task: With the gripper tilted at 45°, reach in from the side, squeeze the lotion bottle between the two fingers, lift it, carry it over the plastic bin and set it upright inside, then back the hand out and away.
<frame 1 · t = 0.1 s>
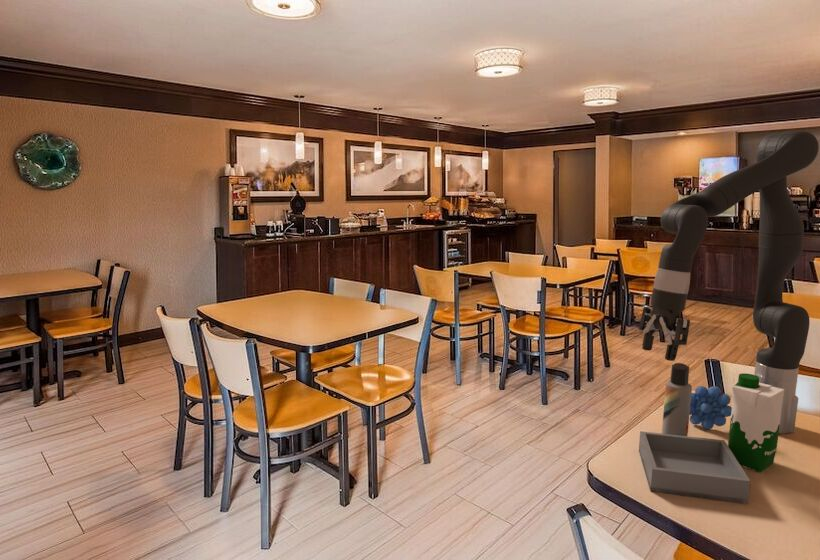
hand: (657, 354, 131), 22 cm above the table, tool pointing down, fingers open, 8 cm apart
bin: (688, 475, 120), on the table
milk carton: (749, 462, 125), on the table
grapes: (707, 428, 143), on the table
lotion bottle: (673, 442, 135), on the table
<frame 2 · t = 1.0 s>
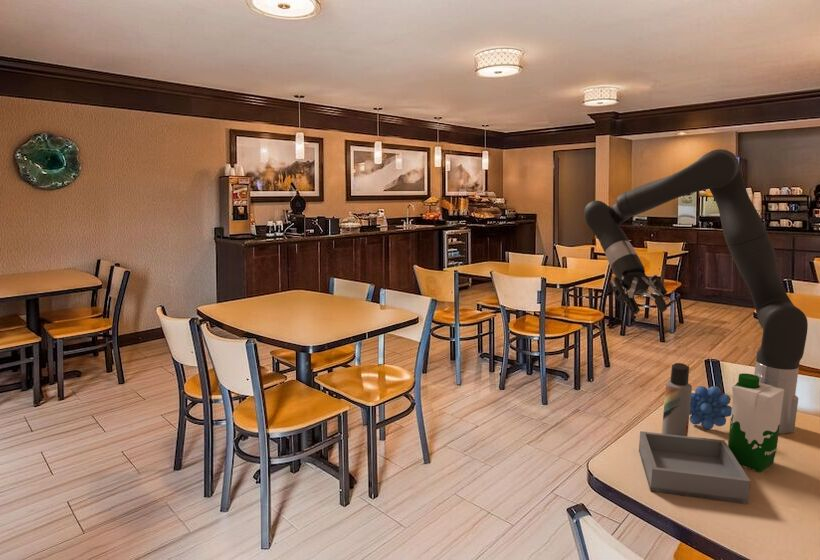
hand: (650, 311, 140), 31 cm above the table, tool tilted 45°, fingers open, 8 cm apart
nothing on the table moved.
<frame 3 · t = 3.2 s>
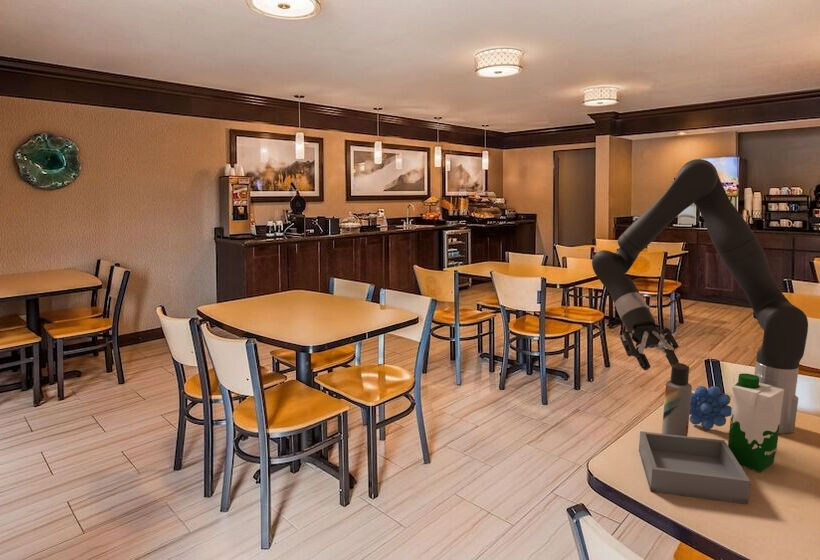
hand: (661, 367, 137), 17 cm above the table, tool tilted 45°, fingers open, 8 cm apart
nothing on the table moved.
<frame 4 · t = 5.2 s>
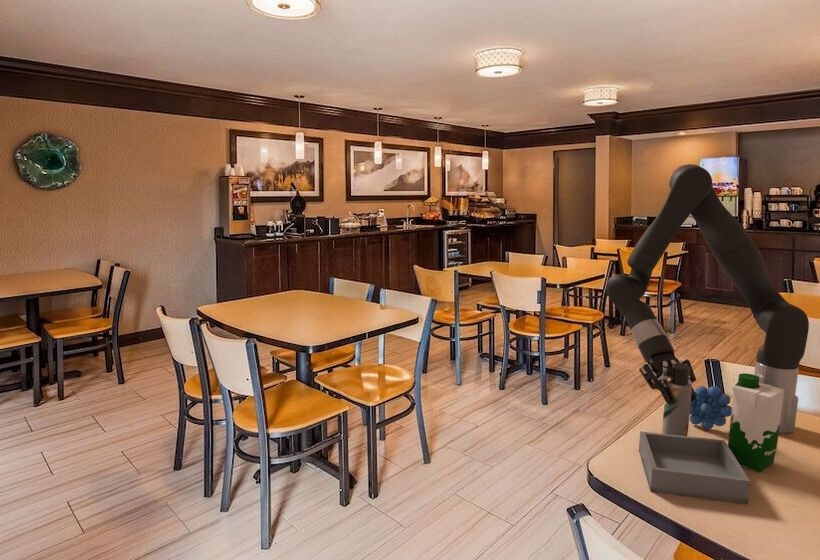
hand: (683, 401, 131), 11 cm above the table, tool tilted 45°, fingers closed on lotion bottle, 5 cm apart
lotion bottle: (673, 442, 135), on the table, touching gripper
everything else where it was.
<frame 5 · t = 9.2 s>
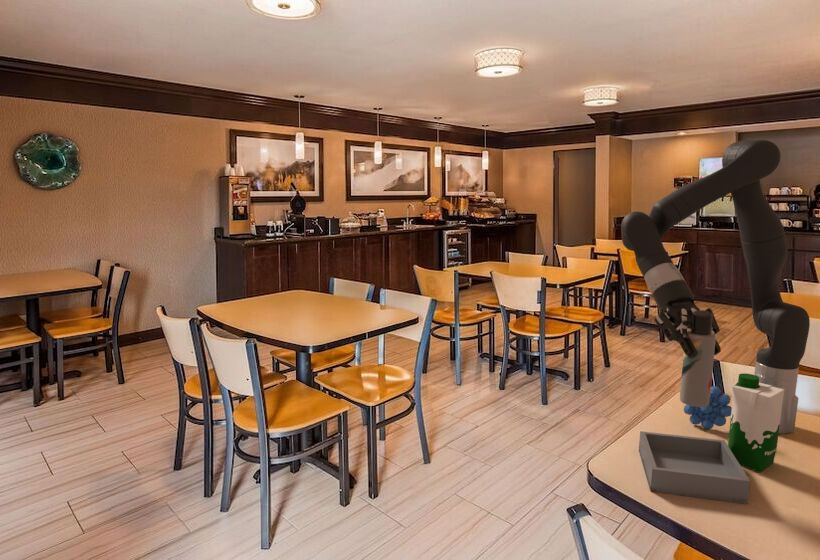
hand: (705, 354, 113), 28 cm above the table, tool tilted 45°, fingers closed on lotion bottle, 5 cm apart
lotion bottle: (694, 403, 117), point 17 cm above the table, touching gripper
everything else where it was.
when the fingers open (13 cm above the table, at t = 12.8 s): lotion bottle drops 1 cm, resting on bin.
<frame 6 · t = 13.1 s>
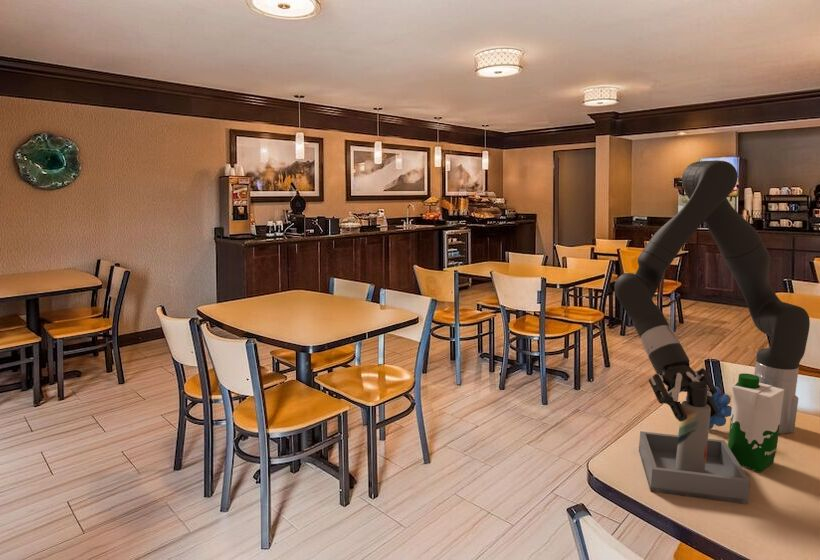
hand: (699, 417, 116), 14 cm above the table, tool tilted 45°, fingers open, 7 cm apart
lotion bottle: (689, 470, 120), point 1 cm above the table, touching bin
everything else where it was.
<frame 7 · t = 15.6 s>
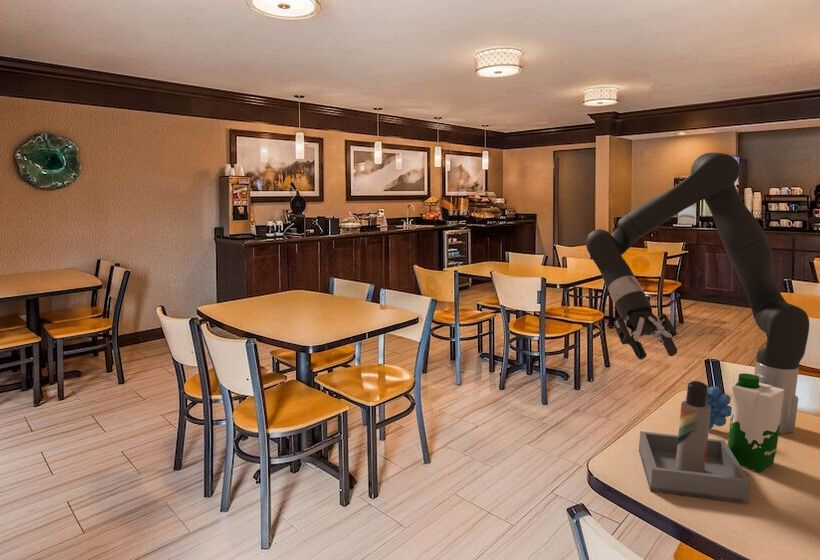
hand: (658, 356, 126), 24 cm above the table, tool tilted 45°, fingers open, 8 cm apart
nothing on the table moved.
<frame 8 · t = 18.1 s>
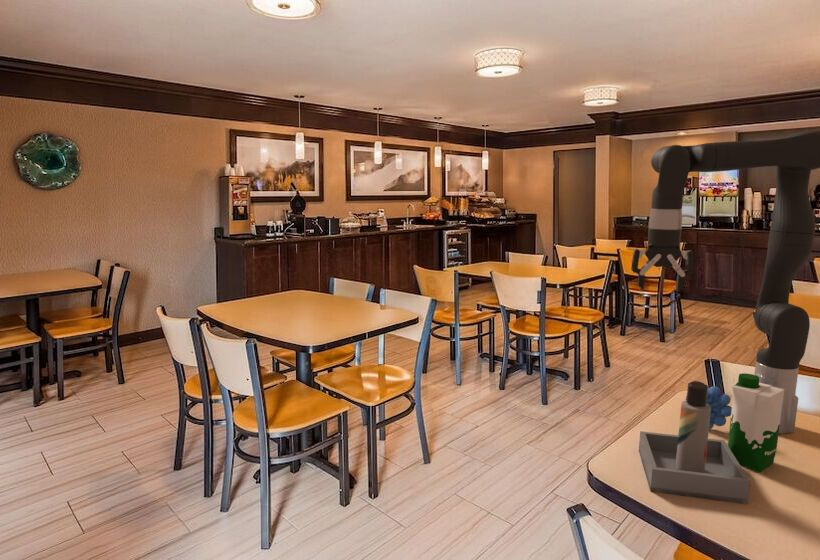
hand: (660, 290, 140), 36 cm above the table, tool pointing down, fingers open, 8 cm apart
nothing on the table moved.
at the end: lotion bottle inside the target area on the bin (0.6 cm from its centre), point 0.8 cm above the bin's base; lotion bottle tilted 0°; the gripper is holding nothing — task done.
